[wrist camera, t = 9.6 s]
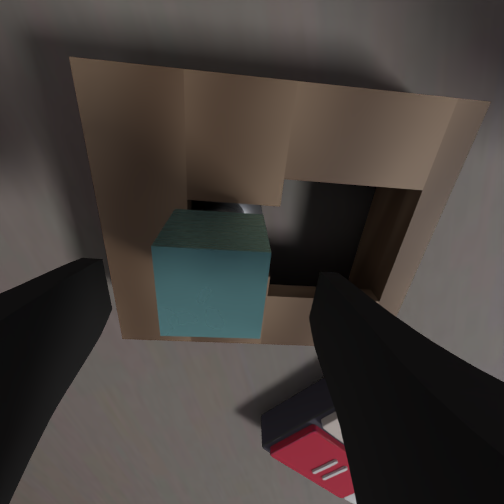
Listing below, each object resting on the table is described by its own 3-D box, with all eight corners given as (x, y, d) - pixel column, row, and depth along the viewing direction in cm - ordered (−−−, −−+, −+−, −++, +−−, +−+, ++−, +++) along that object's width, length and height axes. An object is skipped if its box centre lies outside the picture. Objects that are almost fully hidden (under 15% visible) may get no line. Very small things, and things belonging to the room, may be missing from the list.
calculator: (379, 394, 18) (475, 479, 23) (356, 346, 22) (442, 427, 27) (259, 458, 22) (365, 520, 26) (258, 406, 25) (350, 469, 30)
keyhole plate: (422, 102, 13) (491, 101, 9) (355, 302, 19) (382, 348, 15) (119, 71, 12) (68, 56, 8) (146, 292, 18) (122, 338, 14)
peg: (264, 174, 14) (288, 239, 7) (257, 242, 16) (270, 347, 9) (187, 169, 14) (133, 231, 7) (189, 239, 16) (148, 344, 9)
